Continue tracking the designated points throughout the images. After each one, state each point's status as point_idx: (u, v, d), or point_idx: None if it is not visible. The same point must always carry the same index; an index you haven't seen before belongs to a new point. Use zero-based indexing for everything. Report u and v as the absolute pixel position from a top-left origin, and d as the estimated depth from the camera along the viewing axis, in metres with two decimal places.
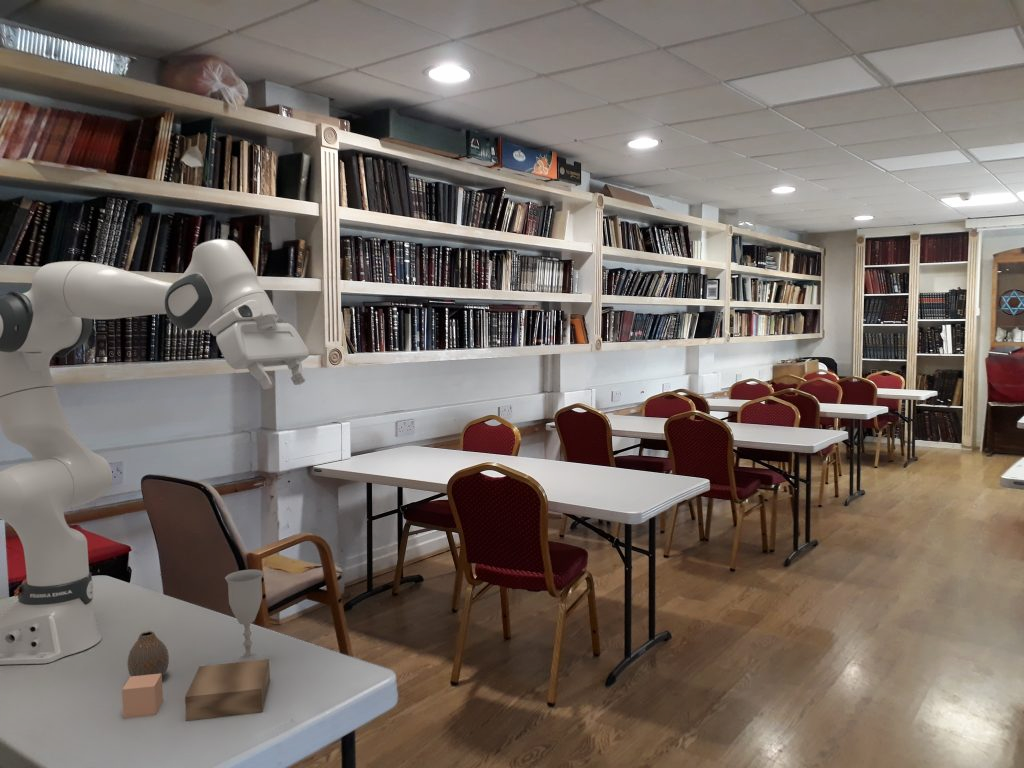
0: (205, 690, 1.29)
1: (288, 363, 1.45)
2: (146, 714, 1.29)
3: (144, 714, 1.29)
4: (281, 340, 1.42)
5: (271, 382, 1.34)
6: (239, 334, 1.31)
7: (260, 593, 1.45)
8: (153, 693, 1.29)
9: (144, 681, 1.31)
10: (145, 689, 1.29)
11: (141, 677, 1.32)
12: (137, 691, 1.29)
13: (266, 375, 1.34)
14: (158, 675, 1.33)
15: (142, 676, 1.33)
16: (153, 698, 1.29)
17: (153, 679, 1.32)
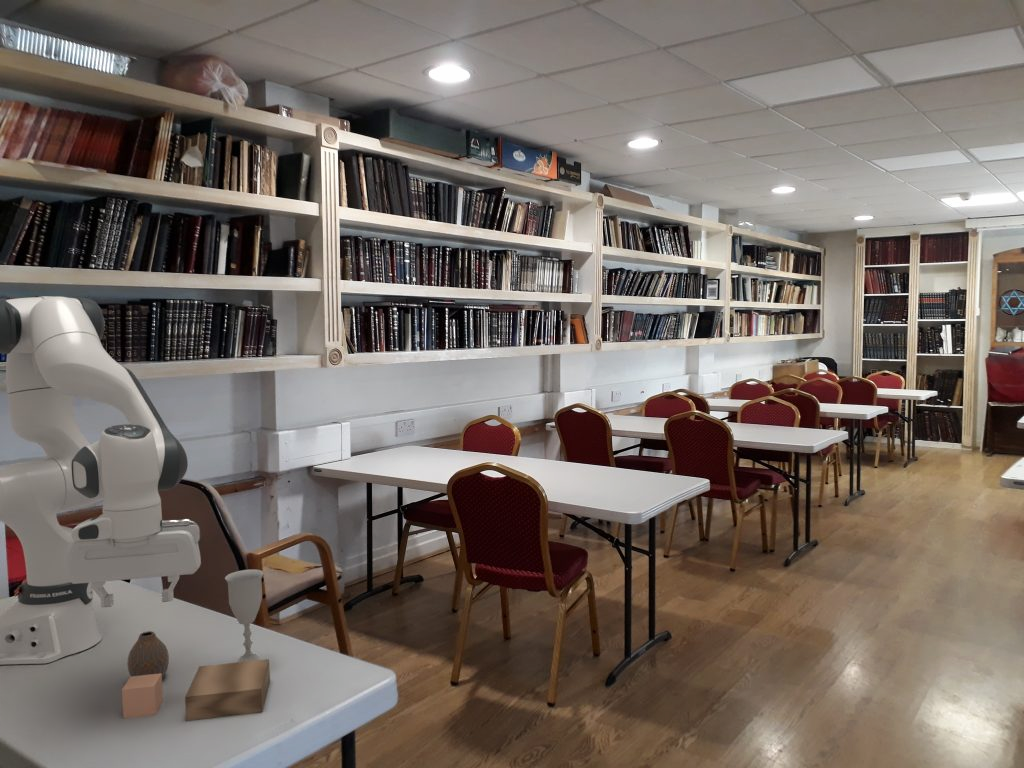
0: (205, 690, 1.29)
1: None
2: (146, 714, 1.29)
3: (144, 714, 1.29)
4: (149, 556, 1.28)
5: (104, 605, 1.28)
6: (70, 556, 1.25)
7: (260, 593, 1.45)
8: (153, 693, 1.29)
9: (144, 681, 1.31)
10: (145, 689, 1.29)
11: (141, 677, 1.32)
12: (137, 691, 1.29)
13: (101, 596, 1.28)
14: (158, 675, 1.33)
15: (142, 676, 1.33)
16: (153, 698, 1.29)
17: (153, 679, 1.32)
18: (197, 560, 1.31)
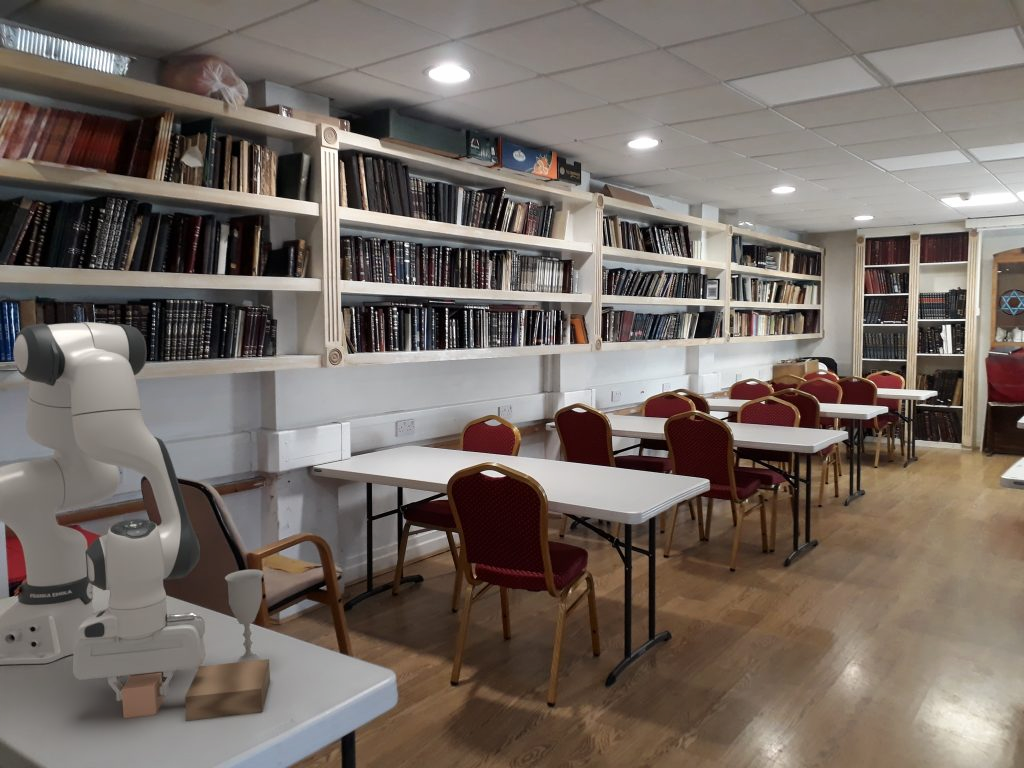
0: (205, 690, 1.29)
1: None
2: (146, 713, 1.29)
3: (144, 713, 1.29)
4: (154, 652, 1.29)
5: (119, 699, 1.30)
6: (76, 654, 1.26)
7: (260, 593, 1.45)
8: (153, 692, 1.29)
9: (144, 681, 1.31)
10: (145, 689, 1.29)
11: (141, 676, 1.32)
12: (137, 691, 1.29)
13: (116, 690, 1.29)
14: (158, 674, 1.33)
15: (142, 676, 1.33)
16: (153, 697, 1.29)
17: (153, 678, 1.32)
18: (202, 654, 1.32)
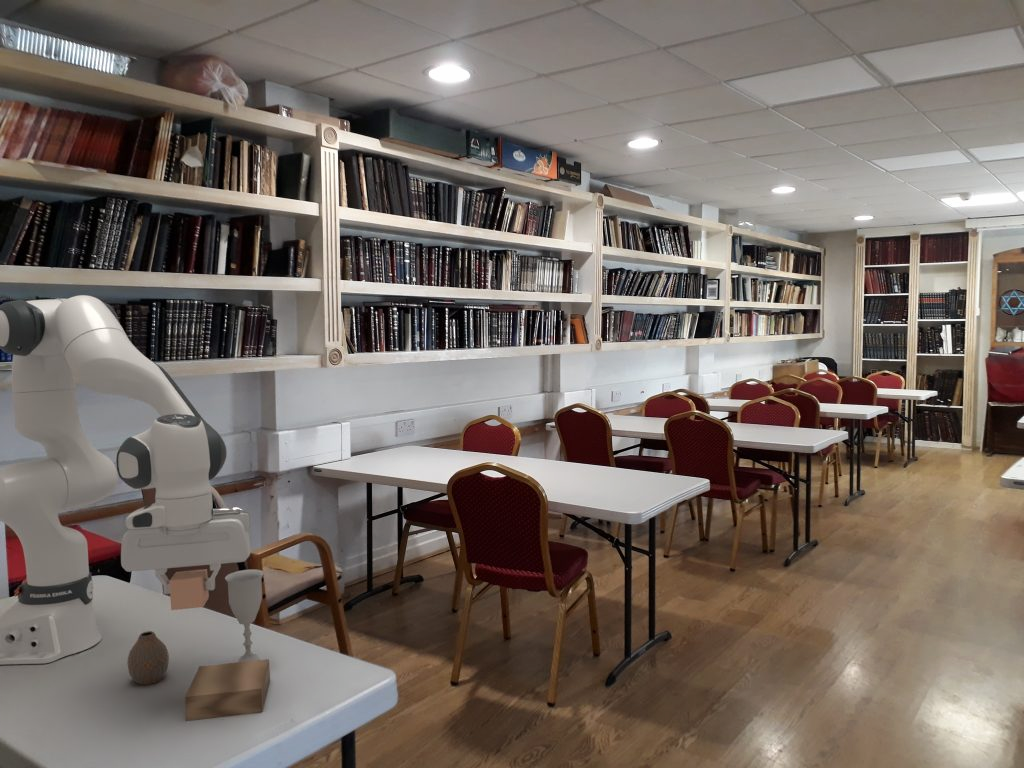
0: (205, 690, 1.29)
1: None
2: (193, 606, 1.29)
3: (191, 606, 1.29)
4: (201, 544, 1.29)
5: (166, 592, 1.30)
6: (124, 544, 1.27)
7: (260, 593, 1.45)
8: (200, 585, 1.29)
9: (190, 575, 1.31)
10: (192, 581, 1.29)
11: (187, 572, 1.32)
12: (184, 583, 1.29)
13: (163, 583, 1.29)
14: (204, 570, 1.33)
15: (188, 571, 1.33)
16: (200, 590, 1.29)
17: (199, 573, 1.32)
18: (248, 548, 1.32)
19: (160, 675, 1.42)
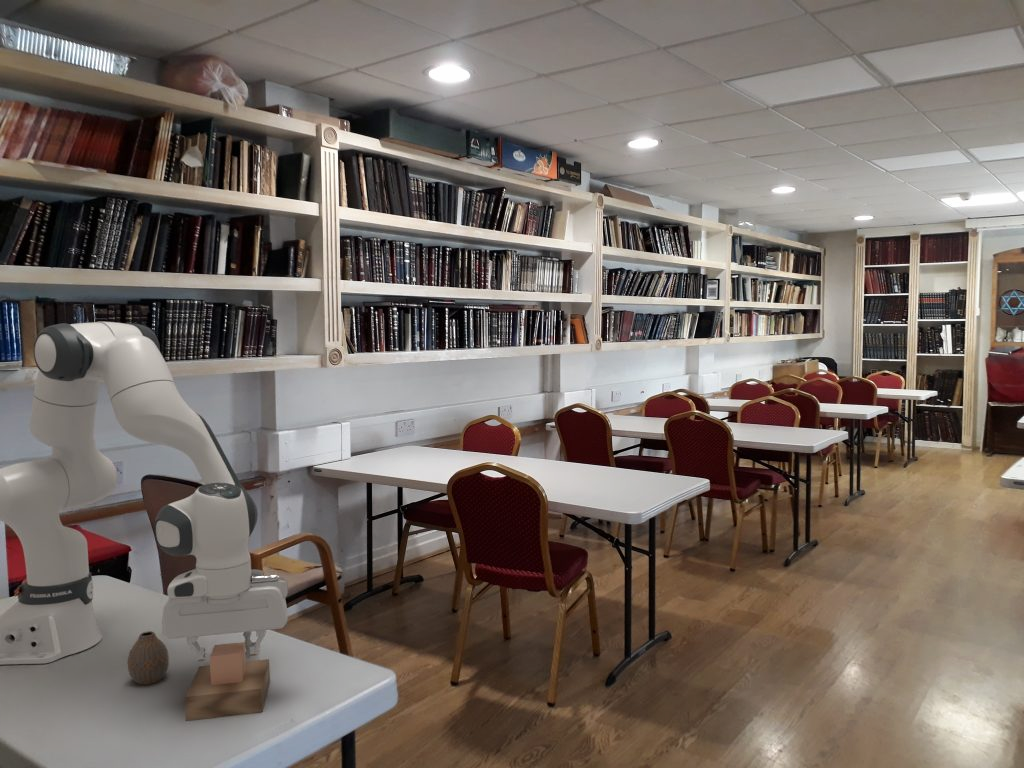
0: (205, 690, 1.29)
1: None
2: (233, 681, 1.32)
3: (231, 681, 1.31)
4: (240, 612, 1.32)
5: (197, 659, 1.32)
6: (166, 613, 1.29)
7: None
8: (239, 660, 1.32)
9: (229, 649, 1.33)
10: (232, 656, 1.31)
11: (225, 645, 1.35)
12: (224, 658, 1.31)
13: (195, 651, 1.32)
14: (242, 643, 1.36)
15: (226, 645, 1.35)
16: (239, 665, 1.32)
17: (238, 647, 1.34)
18: (285, 615, 1.34)
19: (160, 675, 1.42)
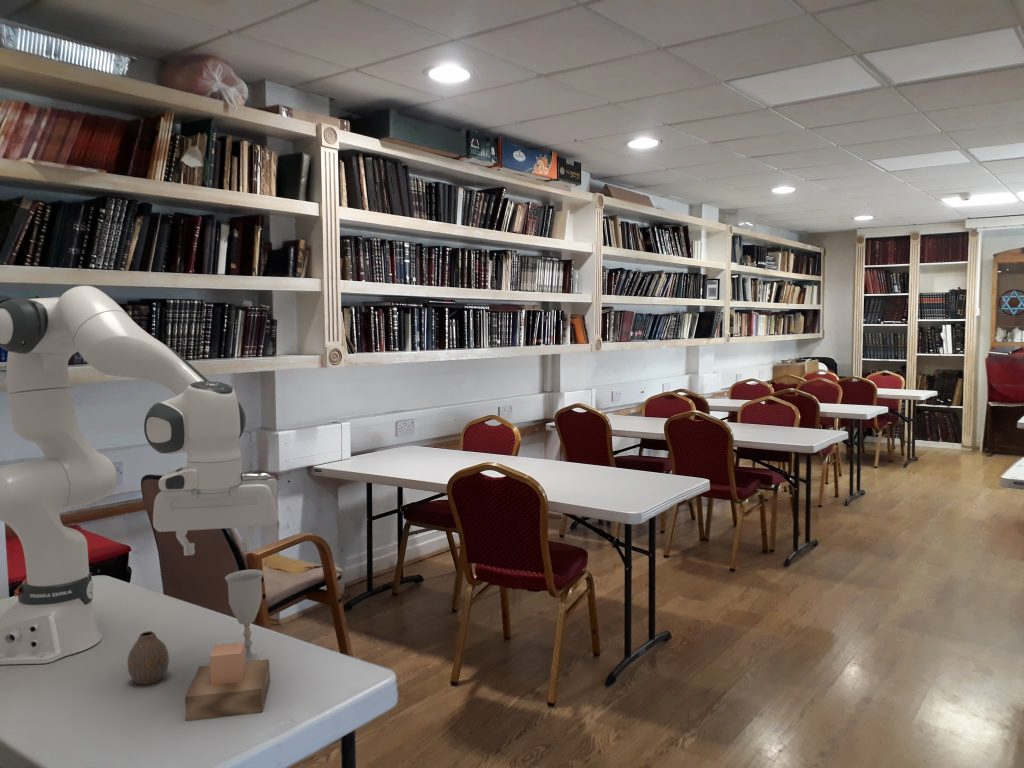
0: (205, 690, 1.29)
1: None
2: (233, 681, 1.32)
3: (231, 681, 1.31)
4: (230, 508, 1.34)
5: (186, 553, 1.34)
6: (157, 505, 1.31)
7: (260, 593, 1.45)
8: (239, 660, 1.32)
9: (229, 649, 1.33)
10: (232, 656, 1.31)
11: (225, 645, 1.35)
12: (224, 658, 1.31)
13: (184, 545, 1.33)
14: (242, 643, 1.36)
15: (226, 645, 1.35)
16: (239, 665, 1.32)
17: (238, 647, 1.34)
18: (275, 513, 1.36)
19: (160, 675, 1.42)
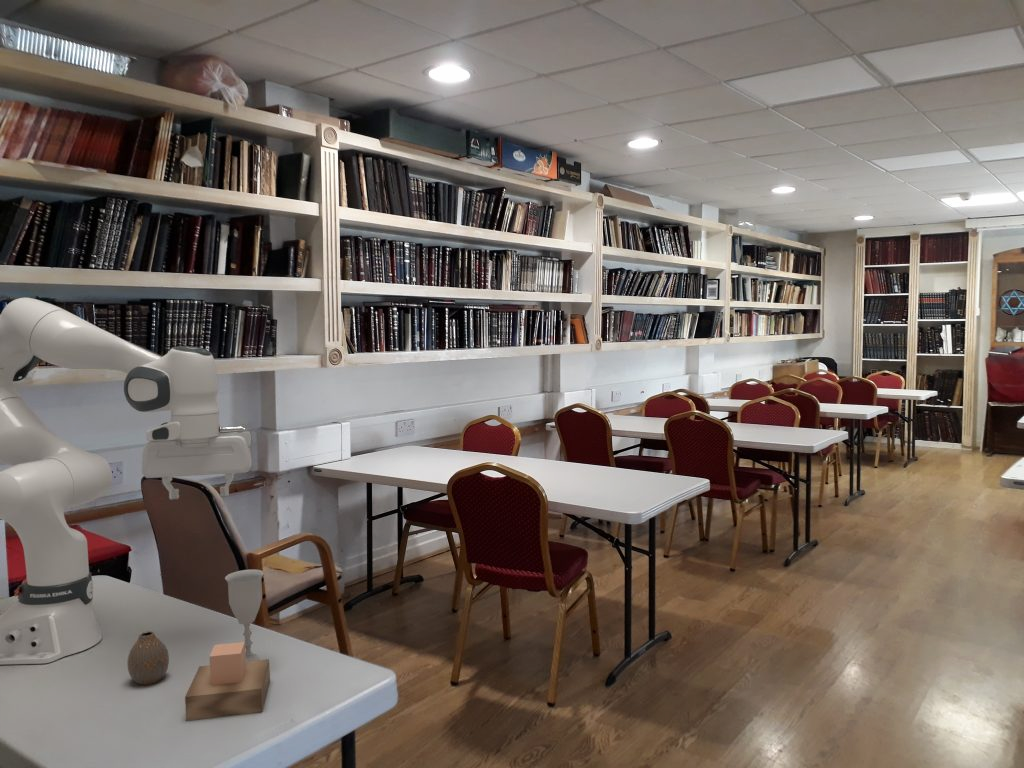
0: (205, 690, 1.29)
1: None
2: (233, 681, 1.32)
3: (231, 681, 1.31)
4: (210, 456, 1.52)
5: (171, 497, 1.52)
6: (145, 454, 1.49)
7: (260, 593, 1.45)
8: (239, 660, 1.32)
9: (229, 649, 1.33)
10: (232, 656, 1.31)
11: (225, 645, 1.35)
12: (224, 658, 1.31)
13: (169, 490, 1.52)
14: (242, 643, 1.36)
15: (226, 645, 1.35)
16: (239, 665, 1.32)
17: (238, 647, 1.34)
18: (249, 461, 1.54)
19: (160, 675, 1.42)
